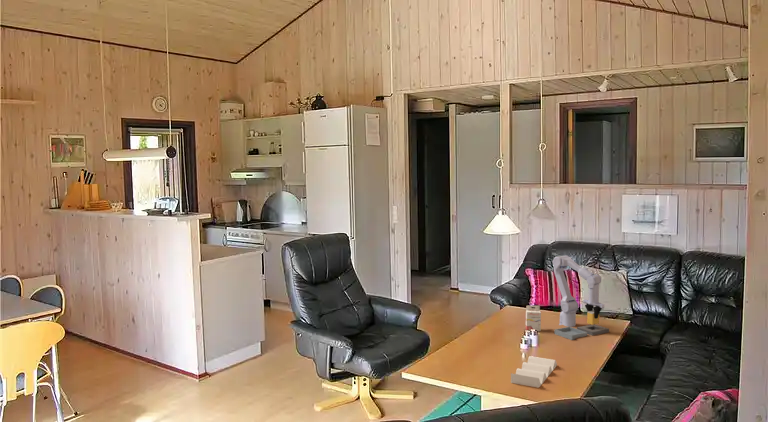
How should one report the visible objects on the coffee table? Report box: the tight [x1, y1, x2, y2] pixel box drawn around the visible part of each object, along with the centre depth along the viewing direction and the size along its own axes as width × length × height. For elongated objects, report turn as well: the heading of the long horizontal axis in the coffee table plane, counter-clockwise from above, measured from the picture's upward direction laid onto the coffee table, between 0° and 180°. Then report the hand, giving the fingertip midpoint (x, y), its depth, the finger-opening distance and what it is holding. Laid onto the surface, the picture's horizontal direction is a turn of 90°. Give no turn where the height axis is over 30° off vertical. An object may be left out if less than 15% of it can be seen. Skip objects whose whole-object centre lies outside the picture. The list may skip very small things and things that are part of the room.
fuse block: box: [576, 324, 610, 336], centre depth 361 cm, size 12×14×3 cm
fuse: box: [586, 309, 600, 325], centre depth 360 cm, size 4×6×7 cm
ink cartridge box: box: [525, 305, 542, 332], centre depth 367 cm, size 9×5×15 cm, turn 84°
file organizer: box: [510, 355, 558, 388], centre depth 293 cm, size 13×35×5 cm, turn 151°
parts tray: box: [554, 326, 588, 341], centre depth 355 cm, size 14×12×3 cm
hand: (593, 317), depth 360 cm, fingers closed on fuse, 4 cm apart
